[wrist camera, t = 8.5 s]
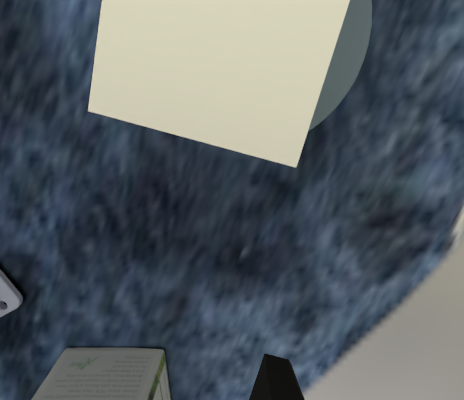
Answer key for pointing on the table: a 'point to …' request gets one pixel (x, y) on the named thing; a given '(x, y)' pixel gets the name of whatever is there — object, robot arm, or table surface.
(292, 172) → the table surface
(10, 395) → the table surface
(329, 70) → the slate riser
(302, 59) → the cream block
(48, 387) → the syrup box
